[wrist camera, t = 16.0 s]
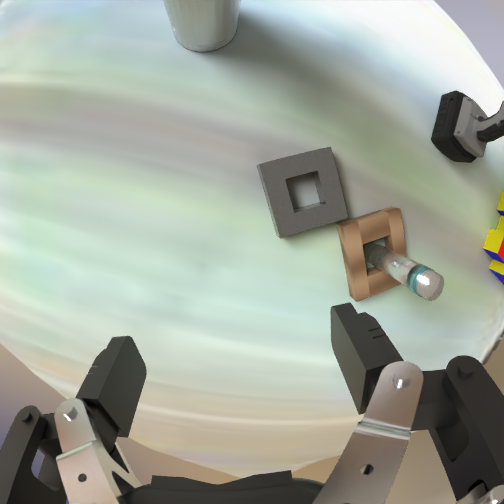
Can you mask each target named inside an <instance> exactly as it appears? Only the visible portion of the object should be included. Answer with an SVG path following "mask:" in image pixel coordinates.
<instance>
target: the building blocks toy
mask: <svg viewBox="0 0 504 504" xmlns="http://www.w3.org/2000/svg"><path fill="white" fill-rule="evenodd" d="M497 211H498V212H499V213H500V215H501V217H500V220H499V223H498V226H497V229H496V230H493V229H490V230H489V233H488V236H487V238H486V241H485V243H484V246H483V249H484V250H485V251H486V252H487V253H488V254H489V255H490V257H491V258H492V259H493V260H492V263H491V265H490V267H489V269H490V270H491V271H492V272H493V273H494V274H495V275H496V276H497V277H498V279H499V280H500V281H501V282H502V283H503V284H504V191H502V193H501V197H500V200H499V204H498V207H497Z"/></svg>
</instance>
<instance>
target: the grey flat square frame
mask: <svg viewBox="0 0 504 504" xmlns="http://www.w3.org/2000/svg"><path fill="white" fill-rule="evenodd" d="M257 168H258V171H259V175H260V178H261V182H262V185H263V189H264V192H265V195H266V199H267V202H268V206H269V209H270V213H271V217H272V220H273V224H274V227H275V231H276V234H277V236H278V237H279V238H283V237H286V236H290V235H293V234H296V233H299V232H303V231H306V230H309V229H312V228H316V227H319V226H322V225H326V224H329V223H332V222H335V221H339V220H342V219H345V218H348V215H347V210H346V206H345V201H344V197H343V193H342V188H341V184H340V180H339V176H338V172H337V168H336V164H335V161H334V157H333V153H332V150H331V147H327V148H322V149H318V150H314V151H309V152H305V153H301V154H297V155H293V156H289V157H285V158H281V159H277V160H273V161H270V162H266V163H262V164H259V165H257ZM310 172H313V176H314V180H315V184H316V187H317V191H318V195H319V199H320V202H319V203H316V204H312V205H309V206H305V207H302V208H298V209H295V210H293V206H292V203H291V199H290V195H289V192H288V188H287V184H286V181H285V179H287V178H291V177H294V176H298V175H302V174H306V173H310Z"/></svg>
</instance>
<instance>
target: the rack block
mask: <svg viewBox="0 0 504 504" xmlns="http://www.w3.org/2000/svg"><path fill="white" fill-rule="evenodd" d="M337 228H338V233H339V238H340V242H341V247H342V252H343V258H344V263H345V268H346V274H347V280H348V286H349V292H350V296H351V297H352V298H353V299H354V300H355V301H356V302H357V301H360V300H362V299H365V298H367V297H370V296H372V295H375V294H377V293H380V292H382V291H385V290H387V289H389V288H392V287H394V286H397V285H399V284H401V282H399V281H398V280H396V279H394V278H393V277H391V276H390V275H388V274H387V273H385V272H383V271H382V270H380V269H379V268H377V267H372V268H369V269H367V270H366V264H365V258H364V252H363V246H362V244H365V243H368V242H371V241H374V240H377V239H380V238H382V237H384V241H385V247H386V248H388V249H390V250H392V251H394V252H396V253H398V254H400V255H402V256H404V257H406V247H405V239H404V231H403V224H402V217H401V211H400V209H399V208H395V207H389V208H386V209H383V210H379V211H376V212H373V213H370V214H366V215H363V216H360V217H357V218H353V219H350V220H347V221H344V222H340V223H337Z"/></svg>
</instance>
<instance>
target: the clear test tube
mask: <svg viewBox="0 0 504 504" xmlns="http://www.w3.org/2000/svg"><path fill="white" fill-rule="evenodd" d="M363 252H364V258H365V260H366V261H367V262H369V263H371V264H372V265H374V266H375V267H377V268H379V269H380V270H382V271H383V272H385V273H387V274H388V275H390V276H391V277H393V278H394V279H396V280H398V281H399V282H401V283H402V284H404V285H405V286H407V287H408V288H409V289H410V290H412V291H413V292H415V293H416V294H418V295H419V296H421V297H424V298H425V299H427V300H429V301H432V300H435V299H436V298H437V297H438V296H439V295H440V294H441V292H442V290H443V287H444V279H443V277H442V275H440V274H438V273H436V272H435V271H434V270H433V269H431V268H429V267H427V266H425V265H422V264H419V263H417V262H415V261H413V260H411V259H409V258H407V257H404V256H402V255H400V254H398V253H396V252H394V251H392V250H390V249H388V248H386V247H384V246H381V245H379V244H377V243H375V242H369V243H367V244H366V245H365V247H364V248H363Z"/></svg>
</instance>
